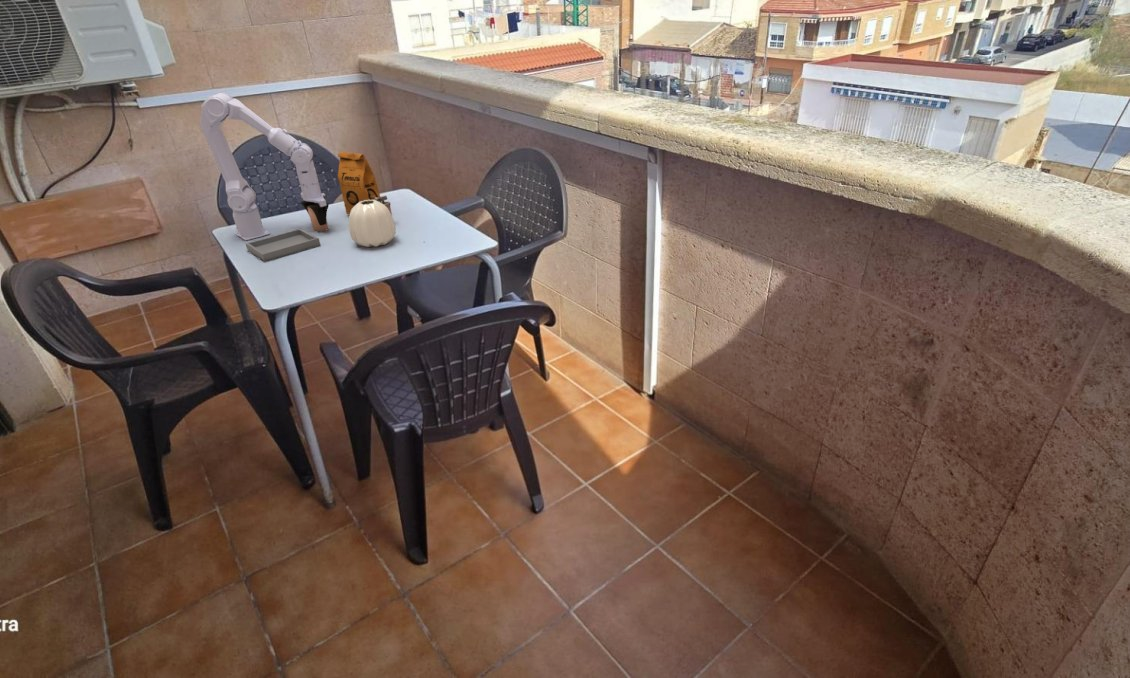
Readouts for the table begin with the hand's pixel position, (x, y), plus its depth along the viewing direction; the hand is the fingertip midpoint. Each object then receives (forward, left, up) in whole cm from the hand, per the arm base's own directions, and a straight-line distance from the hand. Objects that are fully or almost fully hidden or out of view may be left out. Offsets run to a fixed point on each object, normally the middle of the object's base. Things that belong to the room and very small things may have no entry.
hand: (319, 222), depth 196 cm
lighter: (+14, +16, -2) cm, 21 cm away
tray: (+8, -16, -2) cm, 18 cm away
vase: (+26, +6, -2) cm, 27 cm away
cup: (0, 0, -2) cm, 2 cm away
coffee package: (-2, +18, -2) cm, 18 cm away
